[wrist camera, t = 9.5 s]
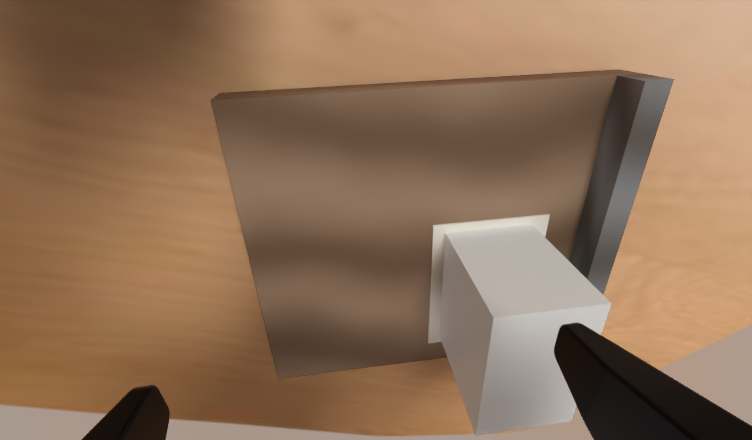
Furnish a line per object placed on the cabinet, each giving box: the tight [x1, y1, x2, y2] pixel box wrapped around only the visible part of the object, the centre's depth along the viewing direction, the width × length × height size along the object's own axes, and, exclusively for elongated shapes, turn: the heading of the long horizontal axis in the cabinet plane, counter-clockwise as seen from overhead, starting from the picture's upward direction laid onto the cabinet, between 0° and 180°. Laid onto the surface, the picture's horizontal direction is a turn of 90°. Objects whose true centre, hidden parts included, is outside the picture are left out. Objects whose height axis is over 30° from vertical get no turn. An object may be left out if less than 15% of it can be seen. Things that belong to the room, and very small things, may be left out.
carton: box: [439, 224, 612, 435], centre depth 18 cm, size 5×7×6 cm
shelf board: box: [211, 70, 674, 379], centre depth 19 cm, size 16×18×3 cm
